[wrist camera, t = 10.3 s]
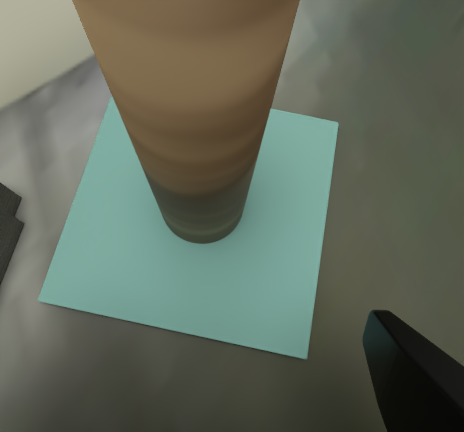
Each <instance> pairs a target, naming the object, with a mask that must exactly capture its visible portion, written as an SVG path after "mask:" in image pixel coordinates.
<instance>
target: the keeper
mask: <svg viewBox="0 0 464 432" xmlns="http://www.w3.org/2000/svg"><path fill="white" fill-rule="evenodd" d="M20 200H21V197H20V196H18V195H17V194H15V193H14V192H13V191H11V190H10V189H9V188H7V187H6V186H4V185H3V184H2V183H0V283H1V281H2V278H3V276H4V273H5V271H6V268H7V266H8V263H9V261H10V258H11V256H12V253H13V251H14V248H15V246H16V243H17V240H18V238H19V235H20V233H21V230H22V228H23V225H24V223H23V222H21V221H19V220H18V219H16V218H14V215H15V212H16V210H17V207H18V205H19V203H20Z"/></svg>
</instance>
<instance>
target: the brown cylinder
mask: <svg viewBox="0 0 464 432" xmlns="http://www.w3.org/2000/svg"><path fill="white" fill-rule="evenodd" d="M299 1H300V0H73V3H74V5H75V8H76V10H77V13H78V15H79V17H80V20H81V22H82V25H83V27H84V29H85V32H86V34H87V37H88V39H89V41H90V44H91V46H92V49H93V51H94V53H95V56H96V58H97V61H98V63H99V65H100V68H101V70H102V73H103V75H104V77H105V80H106V82H107V85H108V87H109V89H110V92H111V94H112V97H113V99H114V101H115V104H116V106H117V109H118V111H119V113H120V116H121V118H122V121H123V123H124V125H125V128H126V130H127V133H128V135H129V137H130V140H131V142H132V145H133V147H134V149H135V152H136V154H137V157H138V159H139V161H140V164H141V166H142V169H143V171H144V173H145V176H146V178H147V180H148V183H149V185H150V188H151V190H152V192H153V195H154V197H155V200H156V202H157V204H158V207H159V209H160V212H161V214H162V216H163V219H164V221H165V223H166V225H167V226H168V227H169V229H170V230H171V231H172V232H173V233H174V234H175V235H177V236H178V237H180V238H181V239H183V240H186V241H188V242H192V243H197V244H207V243H212V242H216V241H219V240H221V239H223V238H225V237H226V236H228V235H229V234H230V233H231V232H232V231H233V230H234V229H235V228H236V227H237V225H238V224H239V222H240V220H241V217H242V214H243V210H244V207H245V203H246V199H247V195H248V192H249V188H250V184H251V180H252V177H253V173H254V169H255V165H256V162H257V158H258V154H259V150H260V147H261V143H262V139H263V135H264V132H265V128H266V124H267V121H268V117H269V113H270V109H271V106H272V102H273V98H274V94H275V91H276V87H277V83H278V79H279V76H280V72H281V68H282V64H283V61H284V57H285V53H286V49H287V46H288V42H289V38H290V35H291V31H292V27H293V23H294V20H295V16H296V12H297V8H298V5H299Z"/></svg>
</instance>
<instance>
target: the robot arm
mask: <svg viewBox="0 0 464 432" xmlns="http://www.w3.org/2000/svg"><path fill="white" fill-rule="evenodd" d="M363 346H364V350H365V355H366V359H367V363H368V367H369V371H370V375H371V379H372V383H373V387H374V391H375V395H376V399H377V403H378V406H379V409H380V412H381V415H382V418H383V421H384V424H385V426H386V429H387V432H464V366H462V365H461V364H460V363H458V362H457V361H456V360H454V359H453V358H452V357H450V356H449V355H448V354H446V353H445V352H444V351H442V350H441V349H440V348H438V347H437V346H436V345H434V344H433V343H432V342H430V341H429V340H428V339H426V338H425V337H424V336H422V335H421V334H420V333H418V332H417V331H416V330H414V329H413V328H412V327H410V326H409V325H408V324H406V323H405V322H404V321H402V320H401V319H400V318H398V317H397V316H396V315H394V314H393V313H391V312H390V311H388V310H372V311H371V312H370V313H369V316H368V319H367V323H366V326H365V330H364V333H363Z"/></svg>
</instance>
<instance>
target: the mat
mask: <svg viewBox="0 0 464 432" xmlns="http://www.w3.org/2000/svg"><path fill="white" fill-rule="evenodd" d="M338 124H339V123H338V122H334V121H329V120H324V119H319V118H314V117H310V116H305V115H300V114H295V113H290V112H286V111H281V110H276V109H270V113H269V117H268V121H267V124H266V128H265V132H264V135H263V139H262V143H261V147H260V150H259V154H258V158H257V162H256V165H255V169H254V173H253V177H252V180H251V184H250V188H249V192H248V195H247V199H246V203H245V207H244V210H243V214H242V217H241V220H240V222H239V224H238V225H237V227H236V228H235V229H234V230H233V231H232V232H231V233H230V234H229V235H228V236H226V237H225V238H223V239H221V240H219V241H216V242H212V243H207V244H197V243H192V242H188V241H186V240H183V239H181V238H180V237H178V236H177V235H175V234H174V233H173V232H172V231H171V230H170V229H169V227H168V226H167V225H166V223H165V221H164V219H163V216H162V214H161V212H160V209H159V207H158V204H157V202H156V200H155V197H154V195H153V192H152V190H151V188H150V185H149V183H148V180H147V178H146V176H145V173H144V171H143V169H142V166H141V164H140V161H139V159H138V157H137V154H136V152H135V149H134V147H133V145H132V142H131V140H130V137H129V135H128V133H127V130H126V128H125V125H124V123H123V121H122V118H121V116H120V113H119V111H118V109H117V106H116V104H115V101H114V99H113V97H112V96H111V98H110V101H109V104H108V107H107V110H106V112H105V115H104V118H103V121H102V123H101V126H100V129H99V132H98V134H97V137H96V140H95V143H94V146H93V148H92V151H91V154H90V157H89V159H88V162H87V165H86V168H85V170H84V173H83V176H82V179H81V182H80V184H79V187H78V190H77V193H76V195H75V198H74V201H73V204H72V207H71V209H70V212H69V215H68V218H67V220H66V223H65V226H64V229H63V231H62V234H61V237H60V240H59V243H58V245H57V248H56V251H55V254H54V256H53V259H52V262H51V265H50V267H49V270H48V273H47V276H46V279H45V281H44V284H43V287H42V290H41V292H40V295H39V298H38V301H40V302H44V303H49V304H54V305H58V306H63V307H67V308H72V309H77V310H81V311H86V312H90V313H95V314H100V315H104V316H109V317H113V318H118V319H123V320H127V321H132V322H136V323H141V324H146V325H150V326H155V327H160V328H164V329H169V330H173V331H178V332H183V333H187V334H192V335H196V336H201V337H206V338H210V339H215V340H219V341H224V342H229V343H233V344H238V345H242V346H247V347H252V348H256V349H261V350H265V351H270V352H275V353H279V354H284V355H288V356H293V357H298V358H302V359H307V354H308V347H309V339H310V332H311V325H312V317H313V310H314V302H315V295H316V287H317V280H318V272H319V265H320V258H321V250H322V243H323V235H324V228H325V220H326V213H327V206H328V198H329V191H330V183H331V176H332V168H333V161H334V153H335V146H336V139H337V131H338Z"/></svg>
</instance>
